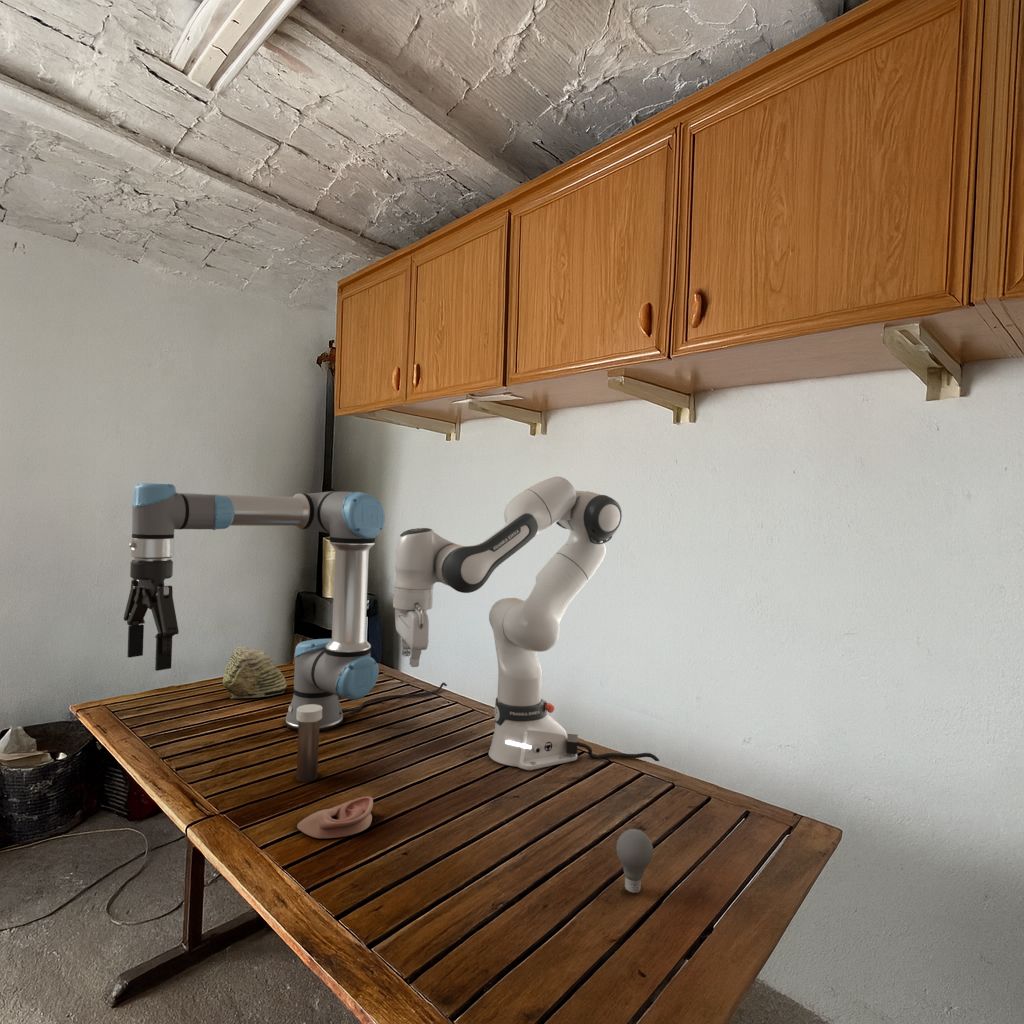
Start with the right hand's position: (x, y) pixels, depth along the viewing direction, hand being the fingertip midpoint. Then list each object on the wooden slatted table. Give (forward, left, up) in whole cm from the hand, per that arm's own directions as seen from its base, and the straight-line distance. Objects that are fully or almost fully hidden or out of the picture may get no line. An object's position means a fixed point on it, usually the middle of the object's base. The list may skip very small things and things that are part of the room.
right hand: (410, 660), depth 143 cm
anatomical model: (+17, +16, -27) cm, 36 cm away
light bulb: (-29, +51, -27) cm, 64 cm away
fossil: (+34, -71, -27) cm, 83 cm away
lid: (+21, -6, -12) cm, 25 cm away
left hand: (+53, -5, +1) cm, 53 cm away
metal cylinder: (+21, -7, -27) cm, 35 cm away
